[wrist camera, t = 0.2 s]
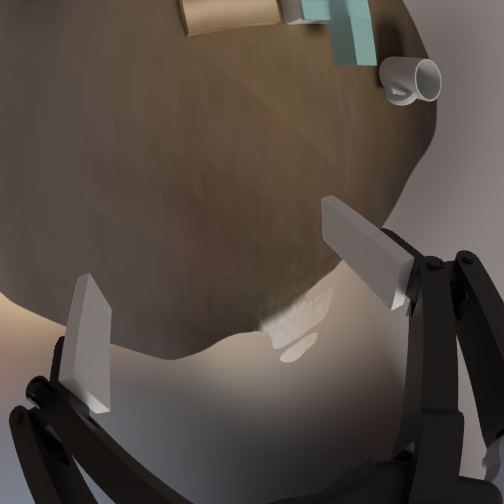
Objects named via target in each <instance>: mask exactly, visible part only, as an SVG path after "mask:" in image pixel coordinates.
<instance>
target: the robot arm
mask: <svg viewBox="0 0 504 504" xmlns="http://www.w3.org/2000/svg"><path fill="white" fill-rule="evenodd" d="M321 206H322V229H323V240H324V241H325V242H326V243H327V244H328V245H329V246H330V247H331V248H332V249H333V250H334V251H335V252H336V253H337V254H338V255H339V256H340V257H341V258H342V259H343V260H344V261H345V262H346V263H347V264H348V265H349V266H350V267H351V268H352V269H353V270H354V271H355V272H356V274H357V275H359V277H360V278H361V279H362V280H363V281H364V282H365V283H366V284H367V285H368V286H369V287H370V288H371V289H372V291H373V292H374V293H375V294H376V295H377V296H378V297H379V298H380V299H381V300H382V301H383V302H384V303H385V305H386V306H387V307H388V308H389V309H390V310H393V309H395V308H397V307H399V306H400V305H402V304H403V303H404V299H405V295H407V297H409V299H410V303H409V307H408V310H407V313H406V316H408V314H409V334H408V354H407V355H408V356H407V368H406V379H405V388H404V396H403V404H402V411H401V418H400V424H399V430H398V435H397V438H396V441H395V443H394V445H393V448H392V451H391V456H390V460H383V461H377V462H373V461H372V460H369V461H367V462H366V463H364V464H362V465H360V466H358V467H356V468H354V469H352V470H350V471H348V472H347V473H344V474H343V475H342V476H341V477H339V478H338V479H337V480H335V481H334V482H333V483H332V484H330V485H329V486H328V487H326V488H325V489H323V490H322V491H321V492H319V493H317V494H314V495H307V496H301V497H294V498H286V499H282V500H279V501H276V502H272V503H269V504H503V502H504V302H503V300H502V299H501V297H500V295H499V293H498V291H497V289H496V287H495V285H494V284H493V282H492V280H491V278H490V277H489V275H488V273H487V271H486V270H485V268H484V266H483V265H482V263H481V262H480V260H479V258H478V257H477V256H476V255H475V254H473V253H472V252H469V251H465V250H462V251H459V252H458V253H457V254H456V258H455V260H454V261H447V262H443V261H442V260H441V259H439V258H437V257H434V256H426V257H424V256H423V255H422V254H421V253H420V252H418V251H417V250H416V249H414V248H413V247H412V246H411V245H409V244H408V243H407V242H405V240H403V239H402V238H400V237H399V236H398V235H397V234H395V233H394V232H393V231H390V230H388V229H385V228H382V229H378V228H377V227H376V226H374V225H373V224H372V223H370V222H369V221H368V220H366V219H365V218H364V217H362V216H361V215H360V214H358V213H357V212H356V211H354V210H353V209H352V208H350V207H349V206H347V205H346V204H345V203H343V202H342V201H340V200H339V199H338V198H336V197H335V196H333V195H331V196H327V197H324V198H321ZM111 313H112V309H111V308H110V306H109V304H108V303H107V301H106V300H105V298H104V296H103V295H102V293H101V291H100V290H99V288H98V286H97V285H96V283H95V281H94V279H93V278H92V276H91V274H90V273H88V274H85V275H82V276H80V277H78V280H77V283H76V287H75V291H74V295H73V300H72V304H71V308H70V313H69V318H68V323H67V328H66V333H65V336H62V337H60V338H59V340H58V341H57V343H56V345H55V349H54V357H53V361H52V362H53V364H52V367H51V374H50V381H48V380H47V379H46V378H45V377H44V376H37V377H34V378H33V379H32V380H31V381H30V383H29V384H28V386H27V389H26V398H27V400H28V401H30V402H31V403H32V404H33V405H35V407H33V408H31V409H30V410H27V409H26V408H25V407H23V406H20V405H19V406H17V407H15V408H14V409H13V410H12V412H11V414H10V418H9V425H10V429H11V433H12V437H13V441H14V444H15V448H16V452H17V455H18V458H19V461H20V464H21V467H22V470H23V473H24V476H25V479H26V482H27V484H28V487H29V489H30V492H31V494H32V497H33V499H34V501H35V504H98V502H97V501H96V499H95V498H94V496H93V494H92V492H91V491H90V489H89V487H88V486H87V484H86V482H85V480H84V478H83V476H82V475H81V473H80V471H79V469H78V467H77V465H76V463H75V461H74V459H73V457H74V458H75V459H76V461H77V462H78V463H79V464H80V466H81V467H82V468H83V469H84V470H85V472H86V473H87V474H88V475H89V476H90V477H91V478H92V479H93V481H94V482H95V483H96V484H97V485H98V486H99V487H100V488H101V489H102V490H103V491H104V492H105V493H106V494H107V495H108V496H109V497H110V498H111V499H112V500H113V501H114V502H115V503H116V504H193V503H192V502H190V501H189V500H187V499H186V498H184V497H183V496H182V495H180V494H179V493H177V492H176V491H174V490H173V489H172V488H170V487H169V486H168V485H166V484H165V483H164V482H162V481H161V480H160V479H159V478H157V477H156V476H155V475H153V474H152V473H151V472H150V471H148V470H147V469H146V468H145V467H144V466H143V465H141V464H140V463H139V462H138V461H137V460H135V459H134V458H133V457H132V456H131V455H130V454H129V453H128V452H126V451H125V450H124V449H123V448H122V447H121V446H120V445H119V444H118V443H117V442H116V441H115V440H114V439H113V438H112V437H111V436H110V435H109V434H108V433H107V432H106V431H105V430H104V429H103V428H102V427H101V426H100V425H99V424H98V423H97V422H96V421H95V420H94V419H93V418H92V417H91V416H90V415H89V408H90V409H91V410H93V411H94V412H95V413H103V412H108V411H110V378H109V377H110V376H109V366H110V363H109V362H110V360H109V359H110V330H111ZM456 335H457V338H458V341H459V344H460V347H461V350H462V353H463V357H464V360H465V364H466V367H467V370H468V374H469V378H470V382H471V386H472V390H473V394H474V398H475V402H476V407H477V412H478V417H479V422H480V427H481V431H482V435H483V439H484V442H485V445H486V448H487V452H486V455H485V457H484V458H483V461H482V466H483V468H485V469H486V476H485V479H484V480H479V479H474V478H468V477H464V476H459V470H460V463H461V455H462V446H463V435H464V416H463V413H461V412H459V410H458V357H457V341H456ZM72 455H73V457H72Z"/></svg>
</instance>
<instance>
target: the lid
mask: <svg viewBox="0 0 504 504" xmlns="http://www.w3.org/2000/svg"><path fill="white" fill-rule="evenodd" d="M298 3H299V8H300V13H301V18H302V20H324V21H328V27H329V32H330V38H331V44H332V51H333V58H334V65H377V62H376V54H375V46H374V39H373V32H372V26H371V18H370V12H369V7H368V2H367V0H298Z"/></svg>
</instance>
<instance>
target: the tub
mask: <svg viewBox="0 0 504 504" xmlns="http://www.w3.org/2000/svg"><path fill="white" fill-rule="evenodd" d="M280 4H281V9H282V14H283V19H284V24H328V21H324V20H302V18H301V13H300V8H299V3H298V0H280Z"/></svg>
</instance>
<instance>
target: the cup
mask: <svg viewBox="0 0 504 504" xmlns="http://www.w3.org/2000/svg"><path fill="white" fill-rule="evenodd" d="M379 78H380V81H381V84H382V85H383V86H384V88H385V89H386V90H385V96H386V99H387V100H388V101H389V102H391V103H393V104H396V105H408V104H410V103H412V102H413V101H414V100H415V99H416V98H417V99H422V100H426V101H433V100H435V99H436V98H437V97H438V95H439V93H440V90H441V75H440V72H439V69H438V67H437V66H436V65H435V63H434V62H432V61H431V60H429V59H422V58H410V57H387V58H385V59H384V60H383V61H382V62H381V64H380V67H379ZM394 94H398V95H403V96H396V95H394Z"/></svg>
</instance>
